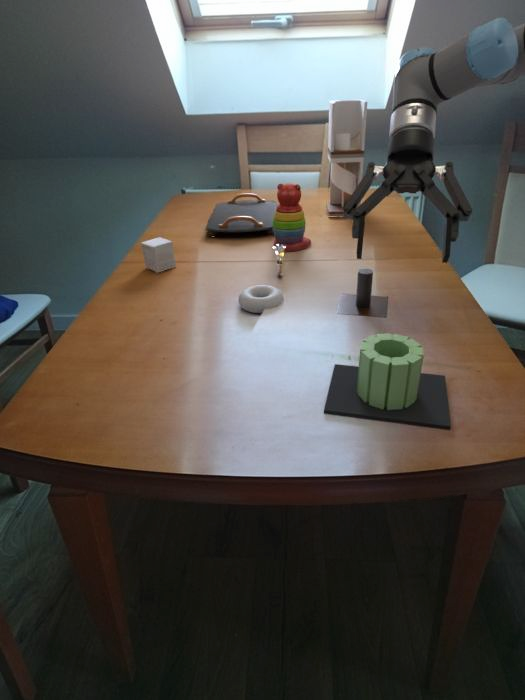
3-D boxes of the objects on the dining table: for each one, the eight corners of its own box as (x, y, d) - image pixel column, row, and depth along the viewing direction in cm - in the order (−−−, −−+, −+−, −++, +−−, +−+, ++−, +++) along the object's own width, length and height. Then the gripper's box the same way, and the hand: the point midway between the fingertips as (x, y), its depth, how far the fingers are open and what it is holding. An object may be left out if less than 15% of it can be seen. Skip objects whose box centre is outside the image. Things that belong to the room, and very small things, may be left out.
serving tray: (277, 238, 143) (277, 218, 140) (203, 240, 144) (201, 221, 141) (278, 206, 176) (277, 189, 173) (217, 208, 178) (215, 192, 174)
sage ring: (415, 378, 76) (422, 335, 72) (416, 413, 68) (424, 368, 64) (359, 372, 78) (363, 330, 74) (354, 406, 70) (358, 361, 66)
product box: (145, 268, 126) (140, 242, 122) (163, 262, 130) (159, 236, 126) (157, 274, 122) (153, 247, 118) (176, 267, 126) (172, 240, 122)
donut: (270, 293, 109) (231, 302, 105) (270, 279, 107) (230, 288, 103) (292, 309, 101) (250, 319, 97) (292, 294, 99) (250, 304, 96)
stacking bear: (313, 242, 138) (313, 180, 129) (301, 254, 131) (301, 188, 121) (279, 239, 142) (278, 178, 133) (266, 250, 135) (263, 186, 125)
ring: (285, 280, 115) (284, 249, 111) (272, 280, 115) (271, 249, 111) (286, 269, 121) (285, 239, 117) (274, 270, 121) (273, 240, 117)
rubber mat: (444, 378, 77) (445, 375, 76) (450, 429, 66) (451, 426, 66) (334, 366, 81) (334, 364, 81) (323, 413, 70) (323, 410, 70)
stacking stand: (387, 302, 102) (391, 263, 97) (385, 324, 93) (390, 282, 89) (341, 299, 104) (343, 261, 99) (335, 320, 96) (337, 279, 91)
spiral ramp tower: (326, 209, 170) (329, 101, 152) (355, 208, 170) (362, 99, 152) (328, 217, 161) (332, 103, 142) (359, 216, 160) (367, 101, 142)
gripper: (336, 127, 79) (322, 245, 75) (496, 123, 73) (490, 251, 69) (338, 154, 86) (326, 262, 82) (484, 152, 80) (478, 269, 76)
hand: (401, 257), depth 76 cm, fingers open, 13 cm apart
